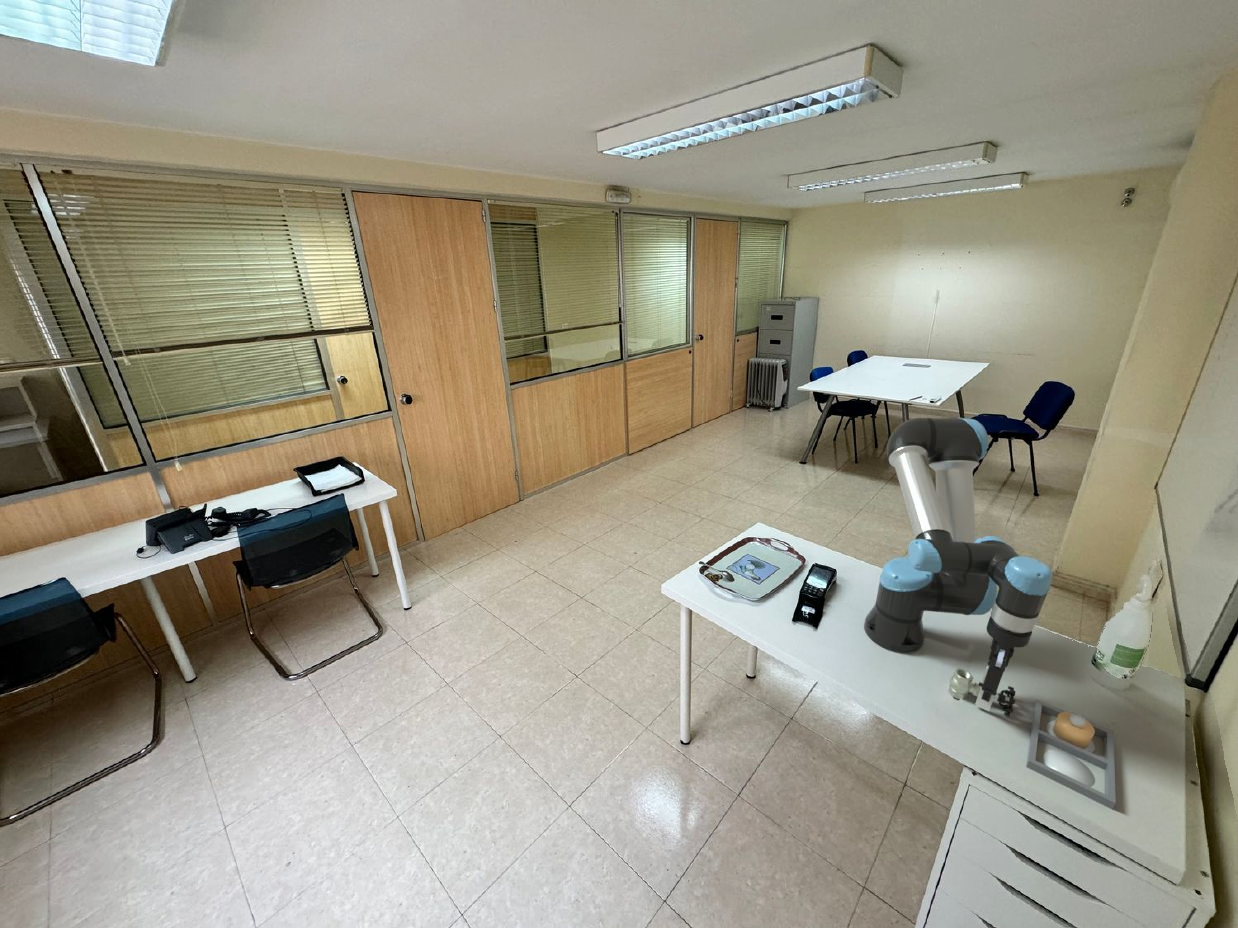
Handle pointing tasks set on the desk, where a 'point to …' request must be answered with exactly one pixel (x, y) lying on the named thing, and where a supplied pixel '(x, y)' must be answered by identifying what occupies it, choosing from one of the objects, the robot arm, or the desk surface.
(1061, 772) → the grey divided tray
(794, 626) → the desk surface
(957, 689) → the valve
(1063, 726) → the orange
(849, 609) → the desk surface
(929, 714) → the desk surface
